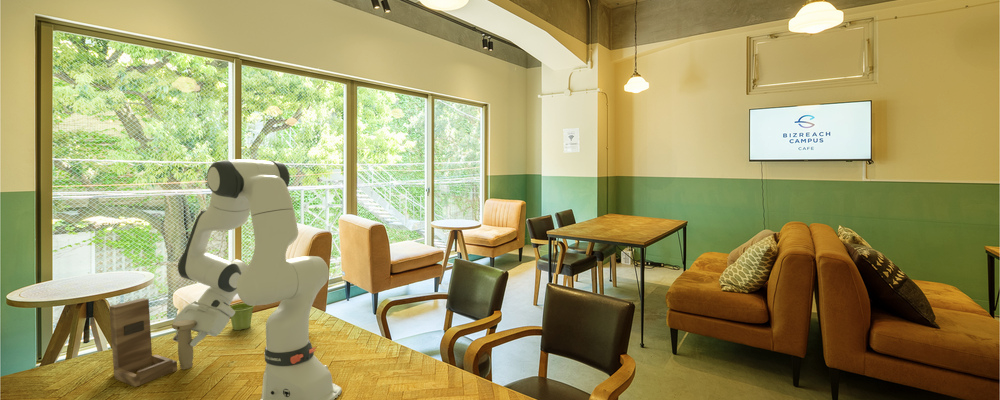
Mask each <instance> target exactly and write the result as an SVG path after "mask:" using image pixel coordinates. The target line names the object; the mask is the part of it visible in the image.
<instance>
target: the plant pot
mask: <svg viewBox="0 0 1000 400" xmlns="http://www.w3.org/2000/svg"><path fill="white" fill-rule="evenodd" d="M229 306H230V307H231V308H232V309H233V310H234V311H235V314H234V315H233V316H232V317H230V321H231V325H232V330H235V331H241V330H246V329H249V328H250V327H251V323H252V316H253V311H254V308H255V306H256V305H254V306H250V305H247V304H245V303H244V302H242V303H241V302H240V303H235V304H232V305H229Z"/></svg>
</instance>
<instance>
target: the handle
mask: <svg viewBox="0 0 1000 400" xmlns="http://www.w3.org/2000/svg"><path fill="white" fill-rule="evenodd" d="M194 326H196V321H194V320H181V321H177V322H174V323H173V322H172V324H171V327H172V329H174V330H176V331H177V330H178V342H177V355H178V356H177V357H178V362H179V367H180V369H181V370H186V369H187V370H189V369H191V368H193V366H194V365H193V364H194V347H193V346H190V345H188V343H189V342H190V340H191V339H193V338H192V337H193V336H192V330H191V328H193V327H194Z"/></svg>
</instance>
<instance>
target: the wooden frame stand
mask: <svg viewBox="0 0 1000 400" xmlns="http://www.w3.org/2000/svg"><path fill="white" fill-rule="evenodd" d="M108 308H109V309H108V310H109V321H110V335H111V338H110V339H111V349H112V350H111V351H112V352H111V353H112V362H113V363H112V365H113V375H114V379H115V380H116V381H119V382H122V383H125V384H127V385H130V386H131V387H135V388H136V387H139V386H141V385H143V384H146V383H149V382H151V381H154V380H157V379H159V378H161V377H163V376H167V375H169V374H172V373H173V372H176V371H178V361H177V360H174V359H171V358H170V357H169V358H168V357H165V356H163V355H159V354H153V349H152V333H151V331H152V330H151V316H150V300H149V299H148V298H145V297H141V298H137V299H133V300H129V301H126V302H125V301H124V302H121V303H117V304H113V305H109V307H108ZM134 372H136V373H134Z"/></svg>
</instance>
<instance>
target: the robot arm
mask: <svg viewBox="0 0 1000 400" xmlns="http://www.w3.org/2000/svg"><path fill="white" fill-rule="evenodd" d="M290 178H291V176H290V172H289V169H288V168H287V167H286V165H285V164H284V163H282V162H280V161H277V160H260V159H250V158H247V159H246V158H245V159H244V158H243V159H242V158H241V159H231V160H228V159H224V160H223V159H222V160H219V161H215V162H213V163H212V164H211V165H210V166H209V167H208V170H207V173H206V181H207V185H208V187H209V190H210V191H211V195H210V201H209V205H208V207H207V208H206V209H204V210H201V212H200V213H198V215H197V217H196V219H195V221H194V223H193V226H192V228H191V231H190V234H189V237H188V240H187V242H186V245H185V249H184V251H183V253H182V254H181V257H180V259H179V260H178V263H177V271H178V274H179V276H180V277H181V278H183V279H186V280H190V281H195V282H197V283H200V284H202V285H205V286H208V288H207V289H206V290H205V291H204V292H203V294H202V295H201V296H200V298H199V299H198V300H195V301H193V302H190V303H189V304H187V305H186V306H185V307H184V308H182V310H180V311H179V313H178V314H176V316H175V317H174V318H173V321H172V324H173V323H174V322H177V321H181V320H194V321H196V326H194V327H193V328H191V331H193V332H197V335H196V336H194V338H192V339H191V340H190V342H189V343H188V345H190V346H193V348H195V347H196V346H197V344H198V343H199V342H201V341H202V340H204V339H205V338H206V337H207V335H208V336H212V337H217V336H219V335H220V334H221V333H222V332H223V330H224V329H225V328H226V326H227V325H228V324H229V322H230V321H231V317H232V316H233V315H234V314H235V311H234V310H233V309H232V308H231V307H230V306H231V304H232V302H233V300H234V297H235V296H236V295H238V298H239V299H240V301H242V303H245V304H247V305H250V306H254V305H255V306H263V305H265V306H266V305H270V304H274V303H277V302H280V303H279V305H278V306H277V308H276V309H275V310H274V311H273V312H272V313H271V314H270V315H269V317H268V318H267V319H266V321H265V340H266V341H265V343H266V346H265V348H264V354H263V355H264V361H265V364H266V365H265V370H264V373H263V375H262V376H263V377H262V390H261V398H260V400H335V398H336V399H337V398H338V397H339V396H340V395H341V394H342V390H343V388H342V387H341V386H339V385H337V384H336V383H333V377H332V373H331V371H330V370H329V368H328V365H326V364H323V363H322V362H321V361H320V360H319V358H318V357H316V355H315V352H316V351H317V350H316V348H317V347H316V346H314V347H313V346H312V343H311V341H310V337H309V335H310V334H309V329H310V328H309V327H310V324H309V323H310V314H311V310H312V306H313V305H314V303H315V302H314V301H315V300H316V297H317V296H318V294H319V293H320V291H321V289H322V288H323V287H324V286H325V285H326V284H327V282H328V280H329V276H330V271H329V267H328V264H327V263H326V261H325V260H324V258H322V257H321V256H318V255H317V256H314V255H305V256H304V255H302V256H298V257H293V258H288V259H287V257H286V255H287V251H288V248H289V246H290V245H292V244H293V243H294V242H295V241H296V240H297V239H298V236H299V230H298V229H299V228H298V223H297V218H296V214H295V209H294V208H295V207H294V203H293V201H292V197H291V193H290V191H289V189H288V187H289V184H290V180H291V179H290ZM249 216H250V217H251V222H252V226H253V235H254V250H253V254H252V257H251V260H250V262H249V263H248V264H247V262H244V261H243V260H240V259H232V260H229V259H226V258H222V257H220V256H217V255H214V254H211V253H210V251H208V250H207V245H208V242H209V239H210V237H211V234H212V232H213V231H214V232H215V231H222V232H223V231H224V232H225V231H231V230H235V229H238V228H241V226H243V225H244V224H245V223H247V221H248V219H249ZM255 306H254V307H255ZM172 341H174V342H177V343H178V330H176V332H175V335H174V336H173V338H172ZM338 395H339V396H338Z"/></svg>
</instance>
